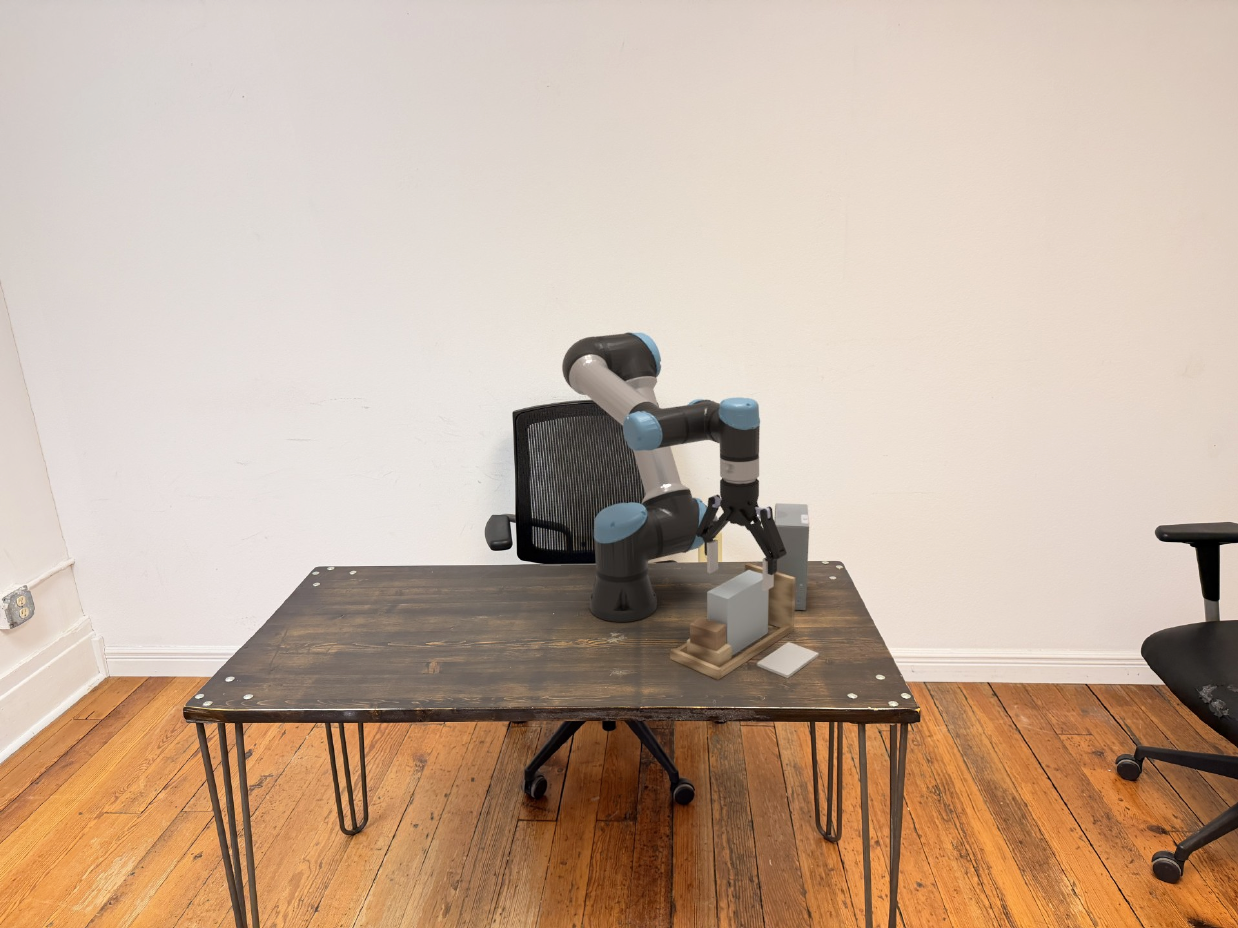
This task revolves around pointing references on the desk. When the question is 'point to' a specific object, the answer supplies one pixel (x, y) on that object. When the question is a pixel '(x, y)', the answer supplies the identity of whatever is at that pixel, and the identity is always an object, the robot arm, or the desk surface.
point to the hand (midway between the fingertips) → (739, 579)
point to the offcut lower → (710, 654)
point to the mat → (787, 659)
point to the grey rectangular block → (740, 609)
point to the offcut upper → (708, 634)
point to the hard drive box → (794, 546)
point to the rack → (778, 615)
